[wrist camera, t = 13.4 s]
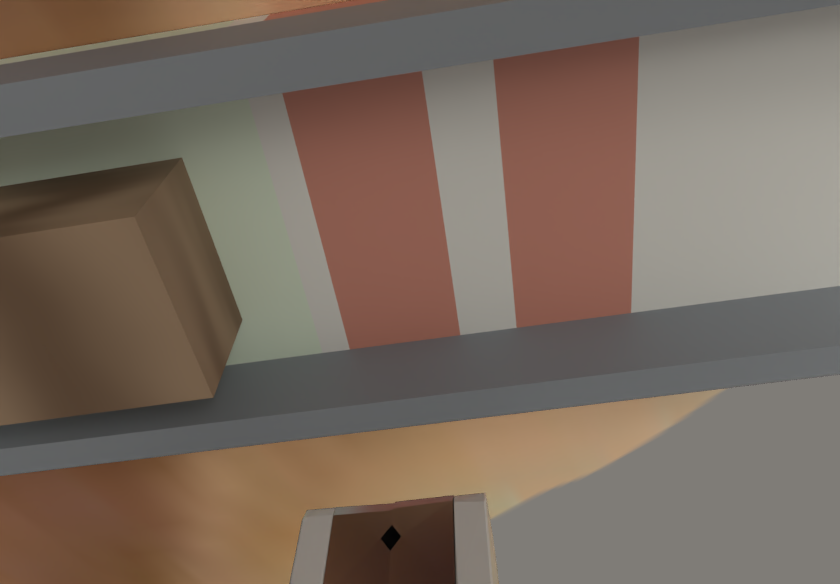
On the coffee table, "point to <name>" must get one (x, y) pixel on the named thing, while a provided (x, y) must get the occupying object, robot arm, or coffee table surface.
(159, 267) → the walnut block
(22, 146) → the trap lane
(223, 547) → the coffee table surface
